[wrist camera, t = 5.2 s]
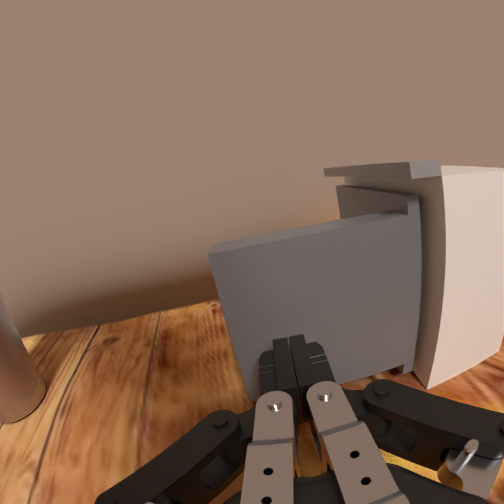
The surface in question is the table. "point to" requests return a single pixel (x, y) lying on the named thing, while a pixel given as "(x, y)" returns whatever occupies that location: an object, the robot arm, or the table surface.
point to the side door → (329, 287)
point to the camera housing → (450, 259)
